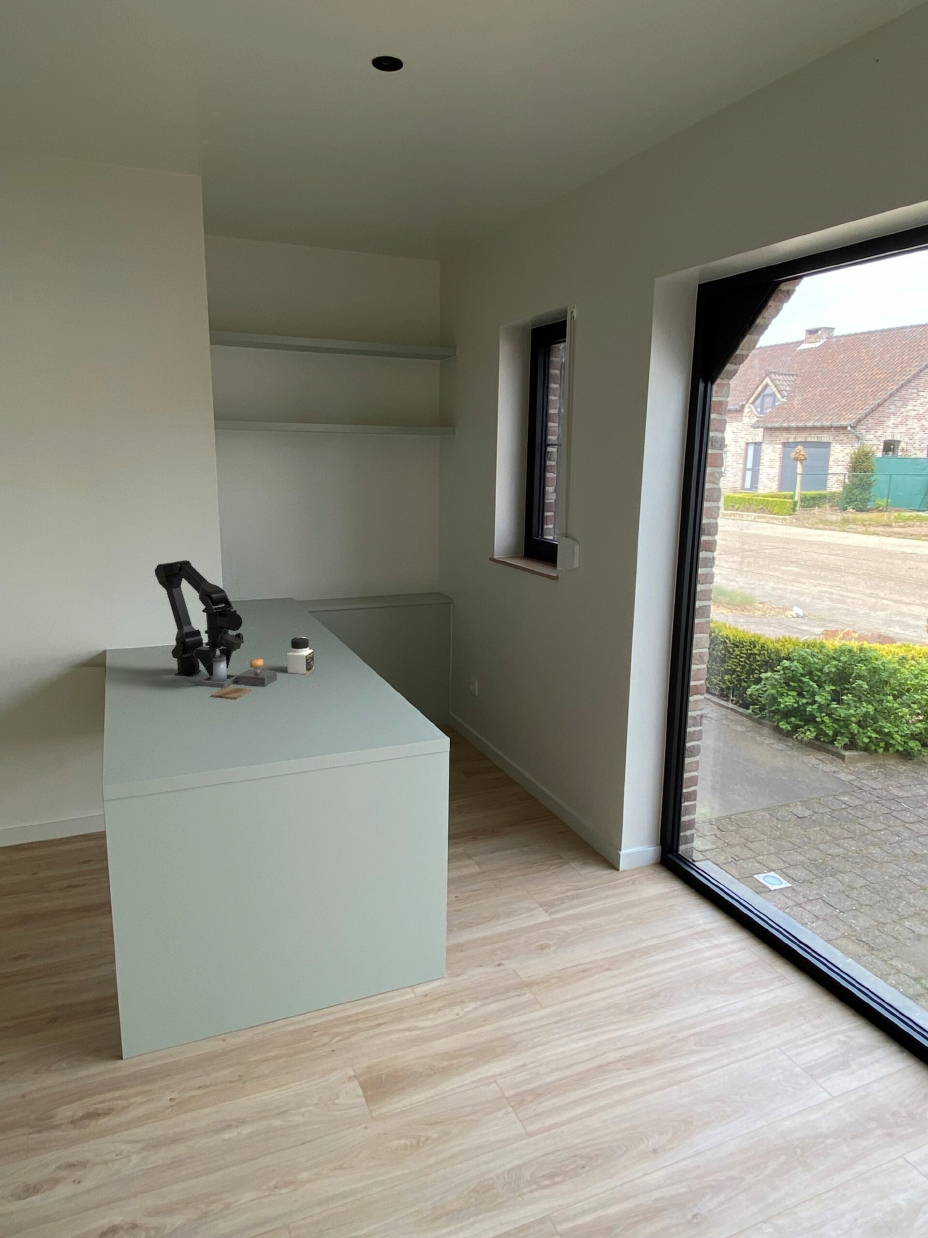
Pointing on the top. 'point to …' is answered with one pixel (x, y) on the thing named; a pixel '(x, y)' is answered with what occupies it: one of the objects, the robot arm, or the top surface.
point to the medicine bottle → (300, 656)
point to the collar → (207, 682)
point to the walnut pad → (230, 693)
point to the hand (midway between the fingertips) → (218, 672)
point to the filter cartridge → (219, 669)
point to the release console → (257, 677)
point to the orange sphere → (256, 665)
